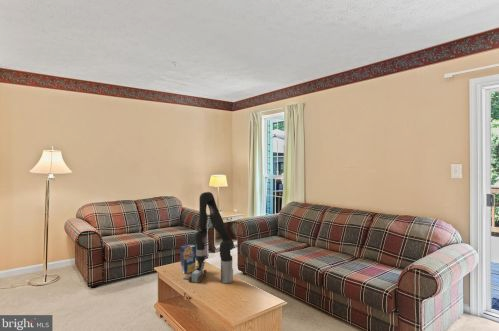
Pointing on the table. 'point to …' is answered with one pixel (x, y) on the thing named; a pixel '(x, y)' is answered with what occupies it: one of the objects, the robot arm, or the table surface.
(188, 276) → the pad
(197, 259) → the robot arm
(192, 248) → the beverage box
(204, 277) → the rack
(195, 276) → the block
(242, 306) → the table surface
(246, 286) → the table surface
